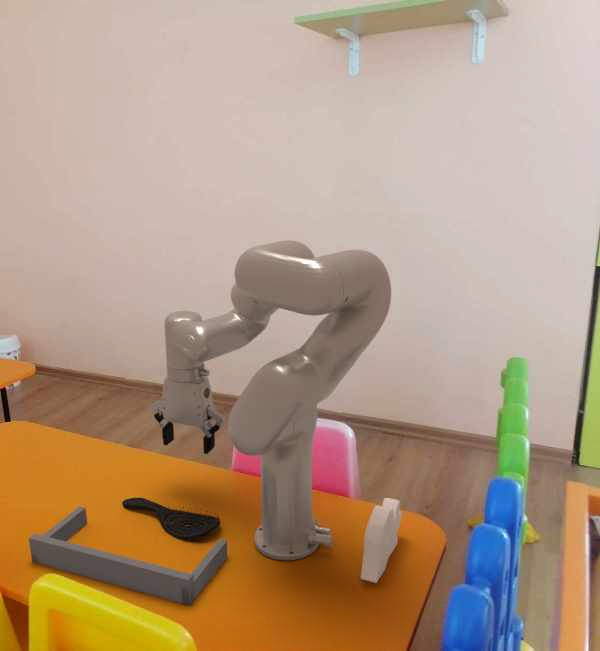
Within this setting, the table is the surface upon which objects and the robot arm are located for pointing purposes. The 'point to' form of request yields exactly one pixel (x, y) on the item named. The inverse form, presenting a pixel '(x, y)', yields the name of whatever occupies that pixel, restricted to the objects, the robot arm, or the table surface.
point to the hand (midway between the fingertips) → (188, 446)
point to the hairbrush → (177, 519)
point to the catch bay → (122, 563)
